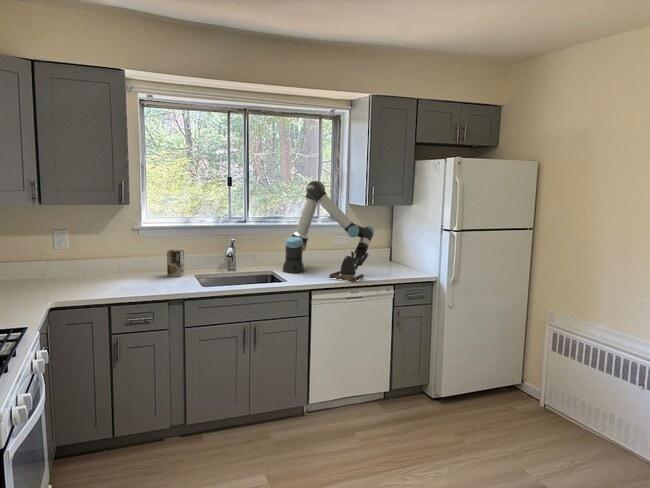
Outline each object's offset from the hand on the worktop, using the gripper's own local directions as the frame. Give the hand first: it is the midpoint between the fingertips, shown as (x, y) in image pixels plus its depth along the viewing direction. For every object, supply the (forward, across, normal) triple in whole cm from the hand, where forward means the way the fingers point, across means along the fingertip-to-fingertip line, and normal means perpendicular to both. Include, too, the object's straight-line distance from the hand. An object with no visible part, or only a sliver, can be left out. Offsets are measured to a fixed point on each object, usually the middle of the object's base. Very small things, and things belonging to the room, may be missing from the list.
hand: (352, 272), depth 323 cm
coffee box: (+49, +94, +45) cm, 115 cm away
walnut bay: (+8, +1, +3) cm, 8 cm away
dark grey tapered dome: (+7, 0, +2) cm, 7 cm away
